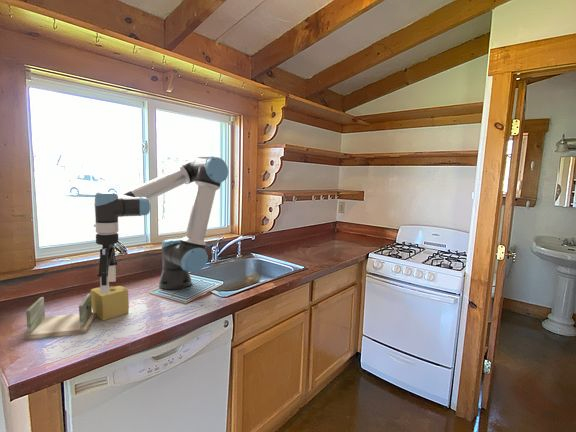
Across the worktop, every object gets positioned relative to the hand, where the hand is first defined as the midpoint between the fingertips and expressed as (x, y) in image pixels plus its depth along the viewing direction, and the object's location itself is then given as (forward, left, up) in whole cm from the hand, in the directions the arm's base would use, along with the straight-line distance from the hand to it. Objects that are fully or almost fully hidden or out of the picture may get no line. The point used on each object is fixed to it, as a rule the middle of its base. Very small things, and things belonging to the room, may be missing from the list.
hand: (108, 287), depth 127 cm
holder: (+14, +8, -11) cm, 19 cm away
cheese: (0, 0, -11) cm, 11 cm away
